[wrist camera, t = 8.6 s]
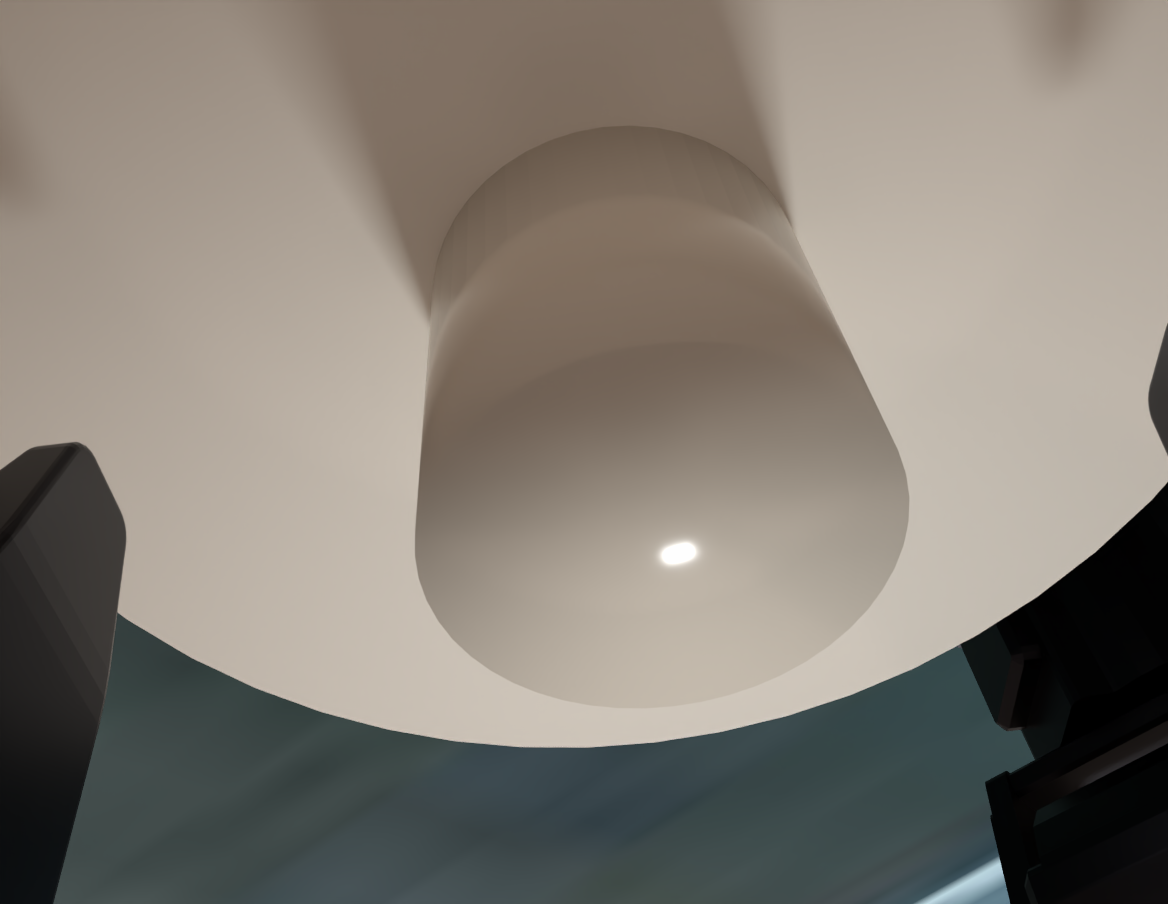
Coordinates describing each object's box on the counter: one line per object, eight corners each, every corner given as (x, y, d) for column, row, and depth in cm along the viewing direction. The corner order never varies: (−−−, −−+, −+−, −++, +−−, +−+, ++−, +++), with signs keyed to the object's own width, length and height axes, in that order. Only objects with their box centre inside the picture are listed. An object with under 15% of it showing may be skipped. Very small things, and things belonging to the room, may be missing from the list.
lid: (1615, -831, 7) (2647, -1205, 4) (1133, 639, 16) (1310, 926, 12) (-561, -576, 7) (-1510, -716, 4) (161, 753, 16) (74, 1070, 12)
